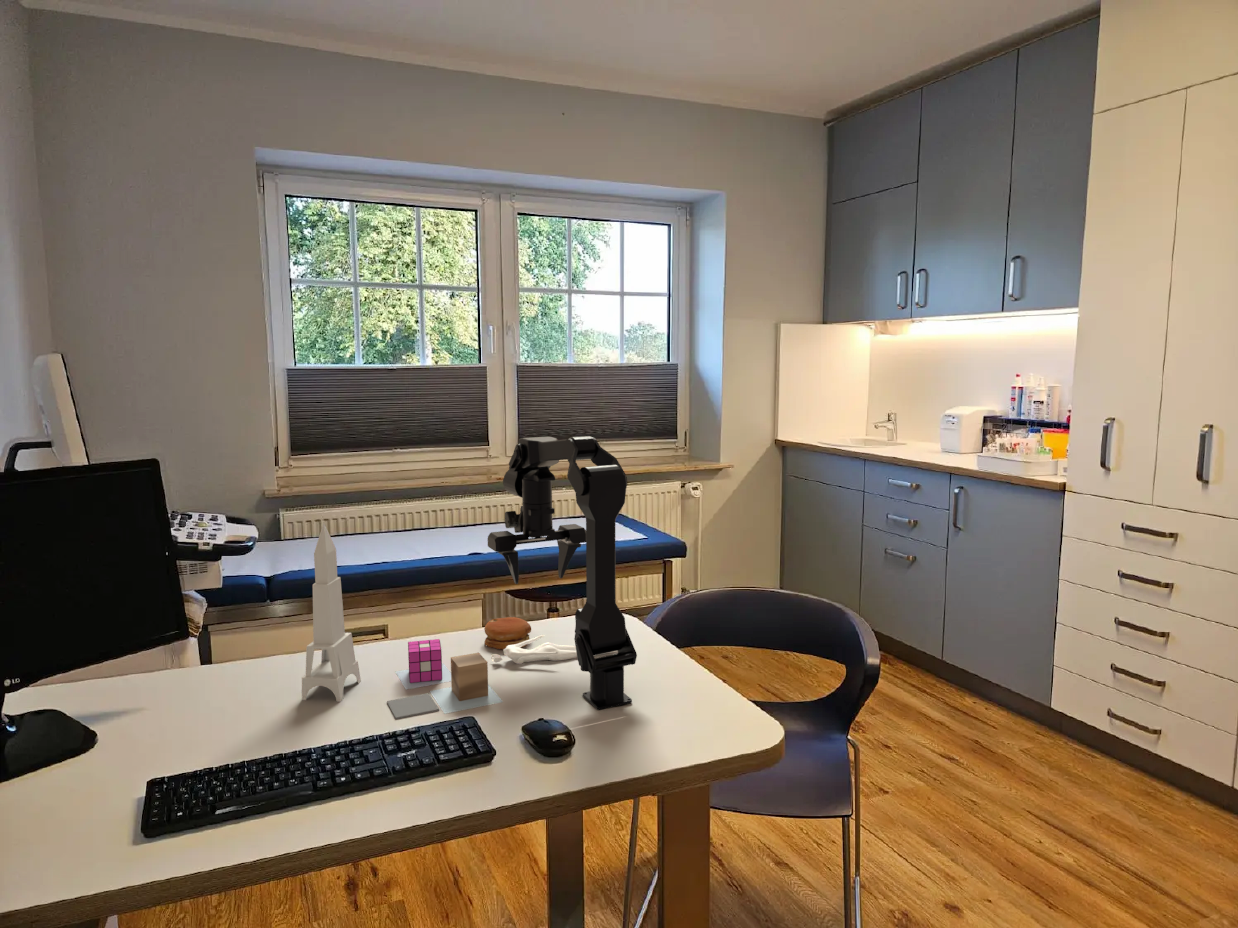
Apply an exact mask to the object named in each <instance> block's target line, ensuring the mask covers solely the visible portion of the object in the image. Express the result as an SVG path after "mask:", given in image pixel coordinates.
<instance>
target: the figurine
mask: <svg viewBox="0 0 1238 928" xmlns="http://www.w3.org/2000/svg"><path fill="white" fill-rule="evenodd" d="M543 637H545V634H540V635H537V636H536V637H532V638H530V639H529V640H526V641H523V642H521V643H518V644H514V645H508V646H507V647H506V648H505V649H502V653H503V654H502V655H505V656H506V657H508V658H509V659H511V661H512V662H513V663H515V664H517V665H522V664H523V663H530V662H538V661H539V662H540V661H548V660H549V661H552V662H554V661H556V662H557V661H565V660H566V661H567V660H571V659H576V658H577V652H576V646H575V645H563V644H561V645H560V644H554V643H553V642H544V643H542V644H540V645H537V646H536V647H535V648H532V649H526V648H523V647H522V646H523V645H526V644H528V645H530V644H533V643H534V642H536V641H537V640H539V639H541V638H543ZM526 646H527V645H526ZM520 647H522V648H520ZM615 653H618V651H613V652H608V653H607V654H615ZM577 659H578V658H577ZM491 661H492V662H494V663H499V662H500V663H501V661H503V658H502V656H501V654H498V653H493V654H491Z"/></svg>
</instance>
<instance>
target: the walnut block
mask: <svg viewBox="0 0 1238 928" xmlns="http://www.w3.org/2000/svg"><path fill="white" fill-rule="evenodd" d="M488 664H489V663H488V661H487V660H486V659H485V658H484V657H483V656H482V654H481V653H479V652H475V653H469V654H468V653H467V654H462V655H457V656H451V657H450V672H451V681H450V682H451V686H450V687H452V692H453V693H454V694H455V696H456V697H457V698H458V700H459V701H464V700H469V699H474V698H479V697H484V696H488V685H489V674H488V673H489V671H488V670H489V667H488V666H489V665H488Z"/></svg>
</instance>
